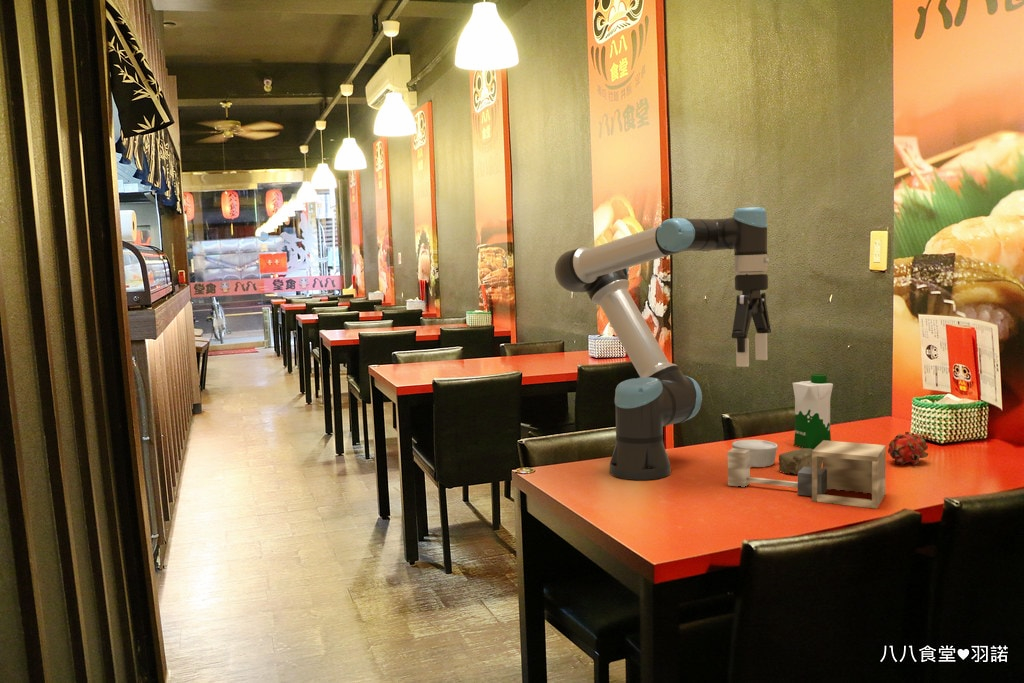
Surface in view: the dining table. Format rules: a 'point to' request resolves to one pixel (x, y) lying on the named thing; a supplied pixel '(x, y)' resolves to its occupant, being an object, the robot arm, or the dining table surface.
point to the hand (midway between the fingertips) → (752, 363)
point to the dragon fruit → (907, 448)
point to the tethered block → (741, 477)
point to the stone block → (797, 460)
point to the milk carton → (812, 411)
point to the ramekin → (758, 451)
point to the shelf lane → (850, 472)
